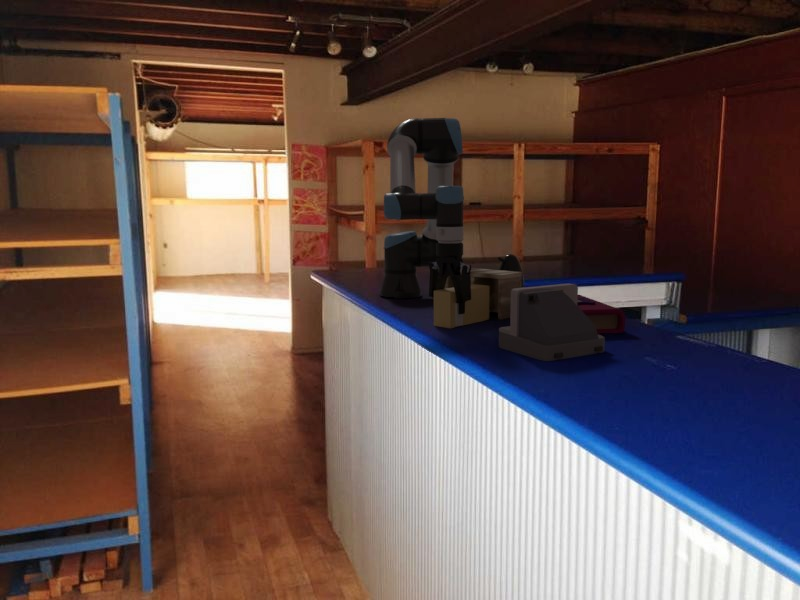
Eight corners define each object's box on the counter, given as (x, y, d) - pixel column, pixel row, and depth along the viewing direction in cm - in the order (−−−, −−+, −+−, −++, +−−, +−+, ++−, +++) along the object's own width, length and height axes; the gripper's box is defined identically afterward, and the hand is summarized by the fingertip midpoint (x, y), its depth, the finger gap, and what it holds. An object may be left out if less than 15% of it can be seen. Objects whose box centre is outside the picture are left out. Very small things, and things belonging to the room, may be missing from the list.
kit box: (433, 325, 194) (433, 290, 192) (472, 317, 207) (473, 284, 205) (450, 328, 190) (450, 292, 188) (489, 319, 203) (489, 285, 201)
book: (582, 316, 209) (583, 292, 207) (624, 335, 181) (626, 306, 180) (516, 319, 206) (516, 293, 205) (548, 338, 178) (549, 309, 177)
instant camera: (564, 338, 177) (566, 280, 174) (616, 355, 157) (618, 290, 155) (491, 345, 169) (491, 284, 167) (535, 364, 150) (537, 296, 148)
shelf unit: (445, 311, 217) (445, 269, 215) (465, 307, 225) (465, 267, 223) (501, 319, 203) (501, 275, 201) (520, 315, 210) (521, 272, 208)
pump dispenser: (489, 295, 252) (490, 253, 250) (513, 293, 257) (514, 252, 254) (505, 298, 243) (505, 255, 241) (529, 296, 248) (530, 254, 245)
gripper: (415, 241, 194) (415, 321, 198) (468, 244, 182) (468, 330, 185) (432, 239, 200) (432, 318, 203) (485, 242, 187) (484, 326, 190)
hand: (449, 323), depth 194 cm, fingers closed on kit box, 6 cm apart
